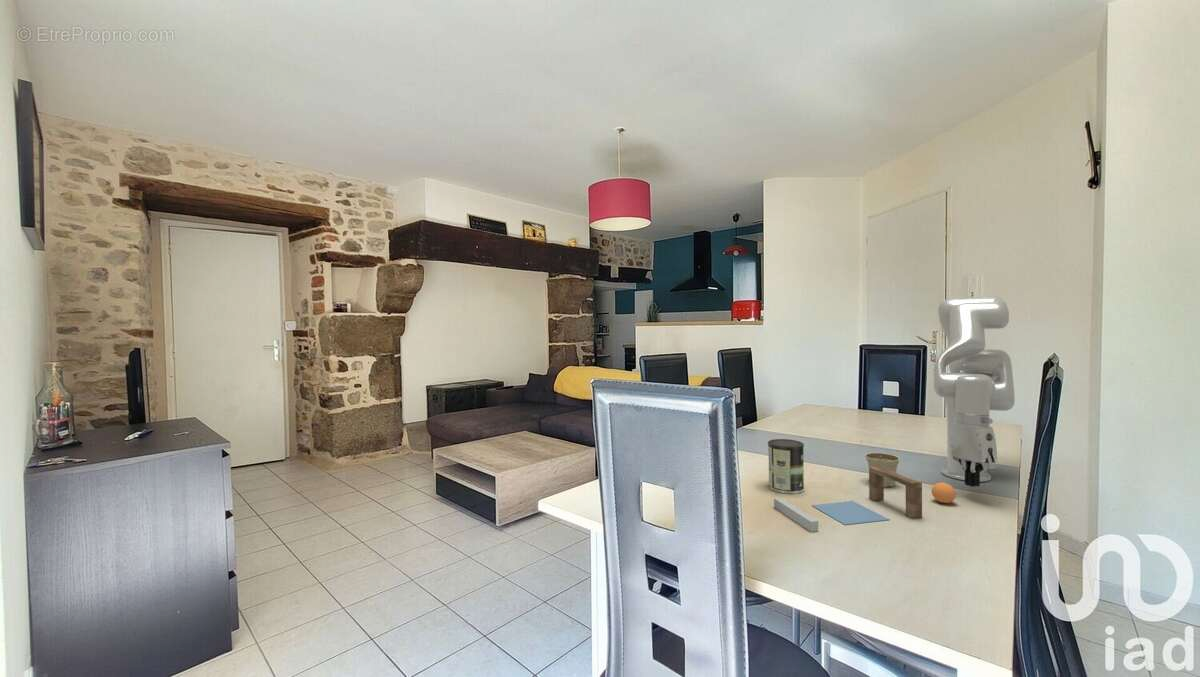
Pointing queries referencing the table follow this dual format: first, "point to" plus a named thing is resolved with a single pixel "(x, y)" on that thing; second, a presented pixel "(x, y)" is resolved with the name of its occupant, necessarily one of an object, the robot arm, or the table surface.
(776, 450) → the coffee can
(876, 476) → the bridge
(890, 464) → the flower pot
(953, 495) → the ball
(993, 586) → the table surface
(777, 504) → the wall
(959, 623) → the table surface
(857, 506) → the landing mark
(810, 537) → the table surface
